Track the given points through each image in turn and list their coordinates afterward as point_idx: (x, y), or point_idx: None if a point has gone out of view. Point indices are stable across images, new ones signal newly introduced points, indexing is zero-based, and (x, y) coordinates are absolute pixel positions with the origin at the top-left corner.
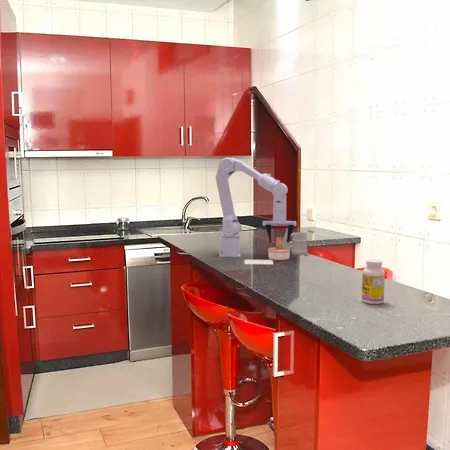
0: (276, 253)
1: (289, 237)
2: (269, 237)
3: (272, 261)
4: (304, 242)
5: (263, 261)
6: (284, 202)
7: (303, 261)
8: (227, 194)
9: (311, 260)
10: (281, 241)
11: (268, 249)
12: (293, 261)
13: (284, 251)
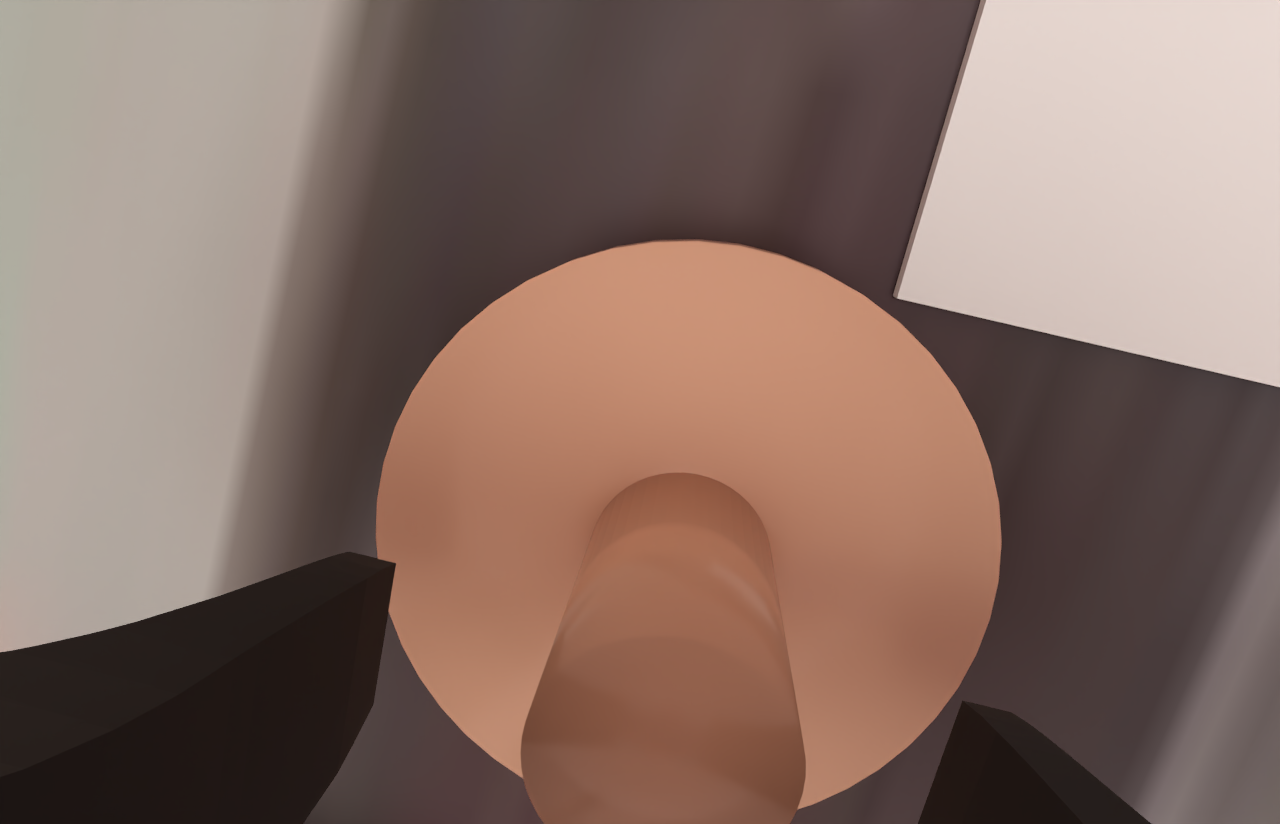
0: None
1: (229, 595)
2: (1128, 812)
3: (969, 92)
4: None
5: (1189, 125)
6: None
7: (230, 119)
8: None
9: (42, 211)
10: (611, 578)
11: (998, 561)
12: (447, 153)
13: (609, 250)
